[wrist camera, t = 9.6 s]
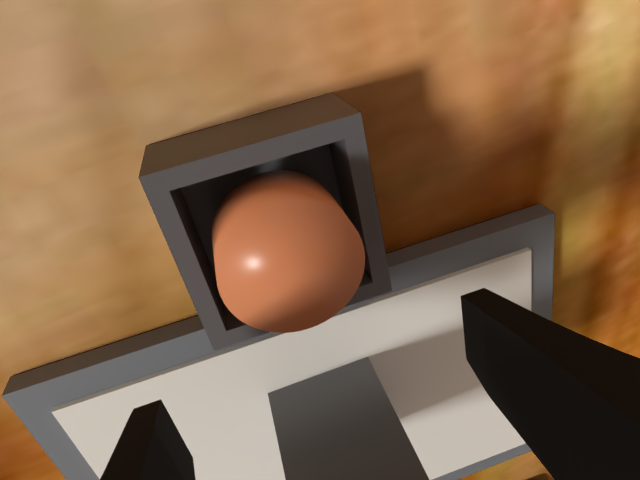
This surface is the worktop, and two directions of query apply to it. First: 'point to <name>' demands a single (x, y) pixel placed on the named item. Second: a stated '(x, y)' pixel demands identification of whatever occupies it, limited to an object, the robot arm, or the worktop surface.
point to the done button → (285, 252)
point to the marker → (342, 428)
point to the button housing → (249, 160)
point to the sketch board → (309, 367)
